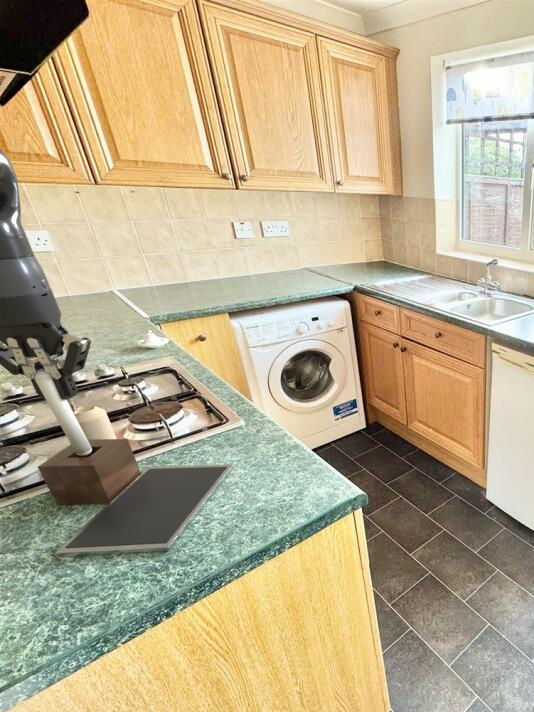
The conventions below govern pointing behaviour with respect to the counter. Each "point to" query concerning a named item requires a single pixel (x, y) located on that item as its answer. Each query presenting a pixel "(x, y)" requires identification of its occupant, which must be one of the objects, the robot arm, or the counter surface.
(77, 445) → the white rod
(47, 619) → the counter surface
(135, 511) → the tablet
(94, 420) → the candle
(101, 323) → the counter surface
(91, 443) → the stand
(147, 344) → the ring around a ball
